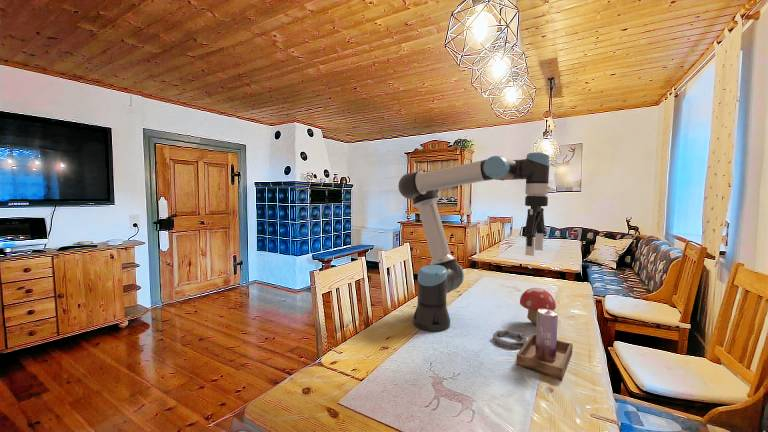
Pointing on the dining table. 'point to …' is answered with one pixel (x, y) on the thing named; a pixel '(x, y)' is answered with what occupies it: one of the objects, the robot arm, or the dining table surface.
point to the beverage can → (546, 334)
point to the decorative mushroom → (536, 302)
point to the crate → (548, 368)
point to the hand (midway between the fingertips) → (534, 252)
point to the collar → (507, 343)
